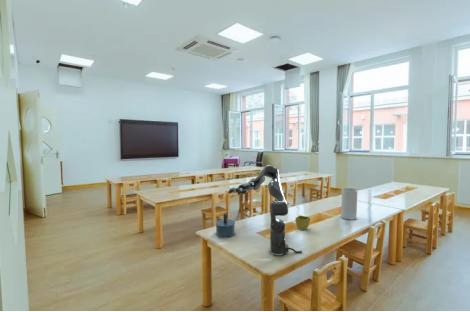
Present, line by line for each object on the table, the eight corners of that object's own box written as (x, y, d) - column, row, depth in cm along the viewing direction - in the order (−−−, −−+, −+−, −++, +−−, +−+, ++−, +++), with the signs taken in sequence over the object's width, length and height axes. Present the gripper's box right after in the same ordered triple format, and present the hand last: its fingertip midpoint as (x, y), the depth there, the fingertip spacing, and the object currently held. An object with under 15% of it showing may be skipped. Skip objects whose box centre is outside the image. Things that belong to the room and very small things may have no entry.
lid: (236, 221, 193) (236, 210, 192) (233, 228, 179) (233, 217, 178) (218, 220, 195) (217, 210, 194) (213, 227, 181) (213, 216, 180)
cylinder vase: (359, 219, 216) (360, 191, 214) (345, 220, 215) (346, 191, 213) (351, 214, 229) (352, 187, 226) (338, 215, 228) (339, 188, 225)
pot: (235, 231, 193) (235, 220, 192) (232, 238, 180) (232, 227, 179) (218, 230, 195) (218, 219, 194) (214, 237, 182) (214, 226, 181)
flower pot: (299, 225, 203) (300, 215, 203) (310, 228, 198) (310, 217, 197) (295, 229, 197) (295, 218, 196) (305, 231, 191) (305, 220, 190)
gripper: (237, 183, 210) (225, 187, 197) (251, 184, 202) (240, 188, 189) (237, 191, 211) (226, 196, 198) (252, 193, 203) (241, 198, 190)
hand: (233, 192), depth 193 cm, fingers open, 8 cm apart
